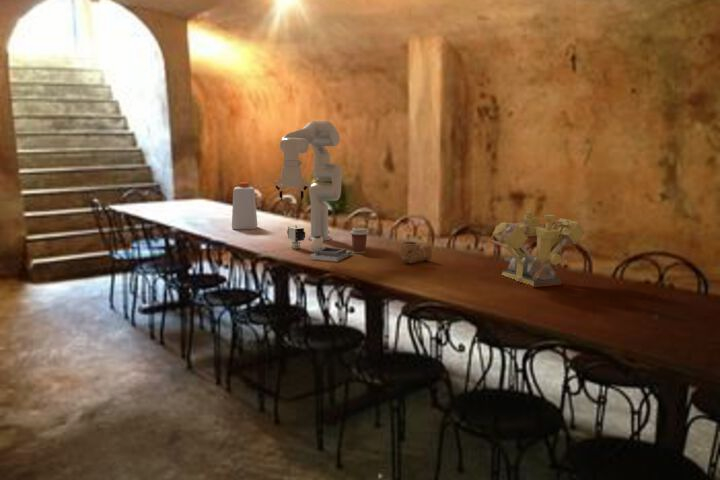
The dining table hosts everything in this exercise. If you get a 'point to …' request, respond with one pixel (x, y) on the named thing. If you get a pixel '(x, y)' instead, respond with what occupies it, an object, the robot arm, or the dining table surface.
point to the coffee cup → (359, 239)
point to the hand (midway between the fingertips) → (291, 199)
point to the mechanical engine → (547, 246)
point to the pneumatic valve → (296, 235)
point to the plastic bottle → (244, 208)
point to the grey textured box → (415, 252)
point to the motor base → (330, 254)
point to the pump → (317, 243)
